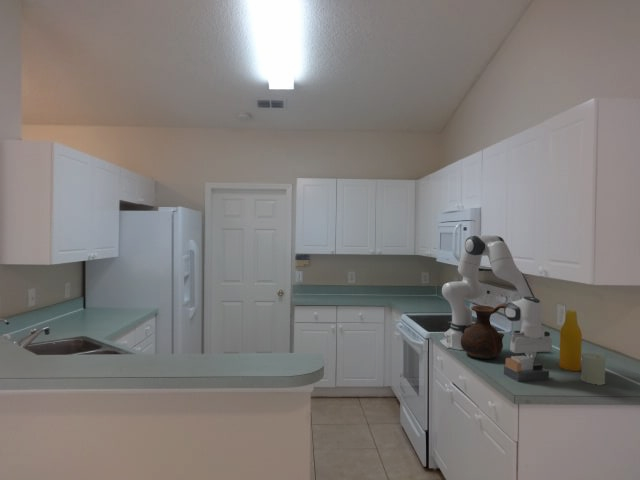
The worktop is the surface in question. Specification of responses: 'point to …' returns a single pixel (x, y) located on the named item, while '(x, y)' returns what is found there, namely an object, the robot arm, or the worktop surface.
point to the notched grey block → (524, 362)
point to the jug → (483, 335)
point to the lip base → (515, 371)
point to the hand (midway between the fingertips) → (530, 361)
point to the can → (593, 369)
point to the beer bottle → (570, 343)
